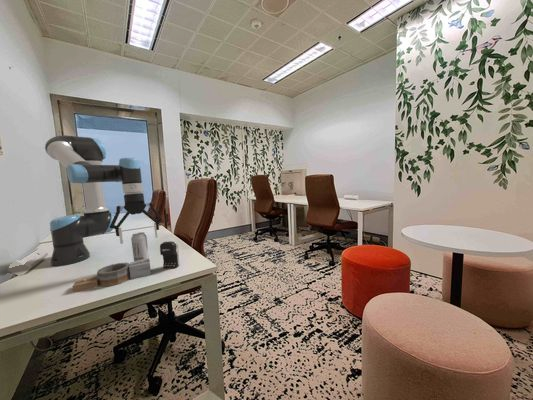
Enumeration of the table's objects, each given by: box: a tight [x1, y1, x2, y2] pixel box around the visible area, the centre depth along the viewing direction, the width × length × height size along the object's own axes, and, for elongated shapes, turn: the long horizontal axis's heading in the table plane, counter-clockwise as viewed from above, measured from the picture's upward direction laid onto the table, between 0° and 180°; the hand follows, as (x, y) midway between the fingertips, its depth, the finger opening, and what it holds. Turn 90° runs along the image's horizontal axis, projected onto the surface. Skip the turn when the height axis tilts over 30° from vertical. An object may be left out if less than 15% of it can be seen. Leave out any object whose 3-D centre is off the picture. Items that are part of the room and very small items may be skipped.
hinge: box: [72, 258, 152, 294], centre depth 85 cm, size 10×24×5 cm, turn 119°
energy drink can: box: [130, 232, 150, 262], centre depth 99 cm, size 6×6×15 cm
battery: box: [159, 240, 180, 269], centre depth 94 cm, size 7×4×11 cm, turn 81°
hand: (139, 240), depth 98 cm, fingers open, 13 cm apart
